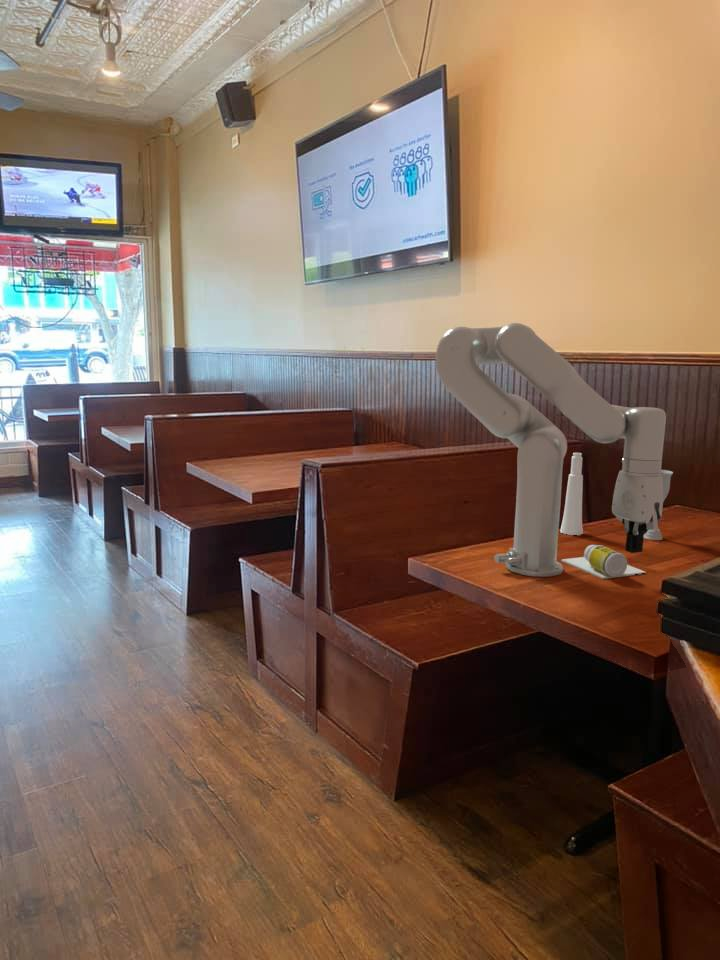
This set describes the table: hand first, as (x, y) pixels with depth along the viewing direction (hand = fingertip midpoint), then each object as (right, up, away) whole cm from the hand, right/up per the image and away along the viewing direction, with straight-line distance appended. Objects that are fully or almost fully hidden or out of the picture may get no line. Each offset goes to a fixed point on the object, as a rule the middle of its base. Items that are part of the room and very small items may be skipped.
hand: (633, 551), depth 149 cm
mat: (-3, -5, +11) cm, 12 cm away
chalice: (+20, 0, +38) cm, 43 cm away
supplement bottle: (-3, -3, +1) cm, 4 cm away
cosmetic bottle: (-1, +1, +41) cm, 41 cm away
